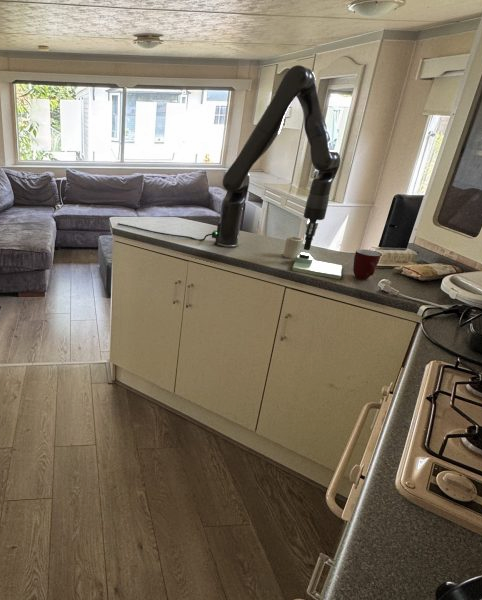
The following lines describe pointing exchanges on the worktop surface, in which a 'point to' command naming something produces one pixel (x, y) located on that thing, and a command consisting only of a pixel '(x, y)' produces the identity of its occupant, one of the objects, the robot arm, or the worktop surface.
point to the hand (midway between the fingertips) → (306, 249)
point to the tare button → (304, 255)
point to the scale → (317, 267)
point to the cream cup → (292, 247)
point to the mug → (365, 263)
